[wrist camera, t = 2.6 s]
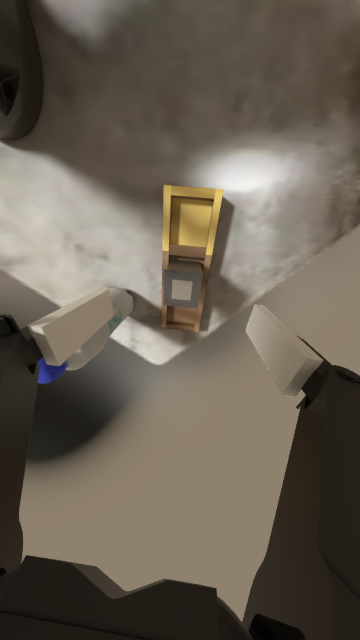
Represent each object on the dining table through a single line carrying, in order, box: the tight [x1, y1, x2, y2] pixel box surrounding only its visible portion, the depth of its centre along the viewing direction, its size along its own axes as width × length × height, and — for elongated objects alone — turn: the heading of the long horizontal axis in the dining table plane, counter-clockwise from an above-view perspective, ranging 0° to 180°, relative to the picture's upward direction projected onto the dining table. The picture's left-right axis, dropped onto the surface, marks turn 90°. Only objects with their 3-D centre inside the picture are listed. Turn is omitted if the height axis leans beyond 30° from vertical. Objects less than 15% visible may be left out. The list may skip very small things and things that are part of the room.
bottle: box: [38, 288, 134, 383], centre depth 22 cm, size 7×7×20 cm
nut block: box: [163, 259, 203, 309], centre depth 22 cm, size 4×4×10 cm
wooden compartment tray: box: [161, 185, 223, 332], centre depth 26 cm, size 23×8×3 cm, turn 175°
